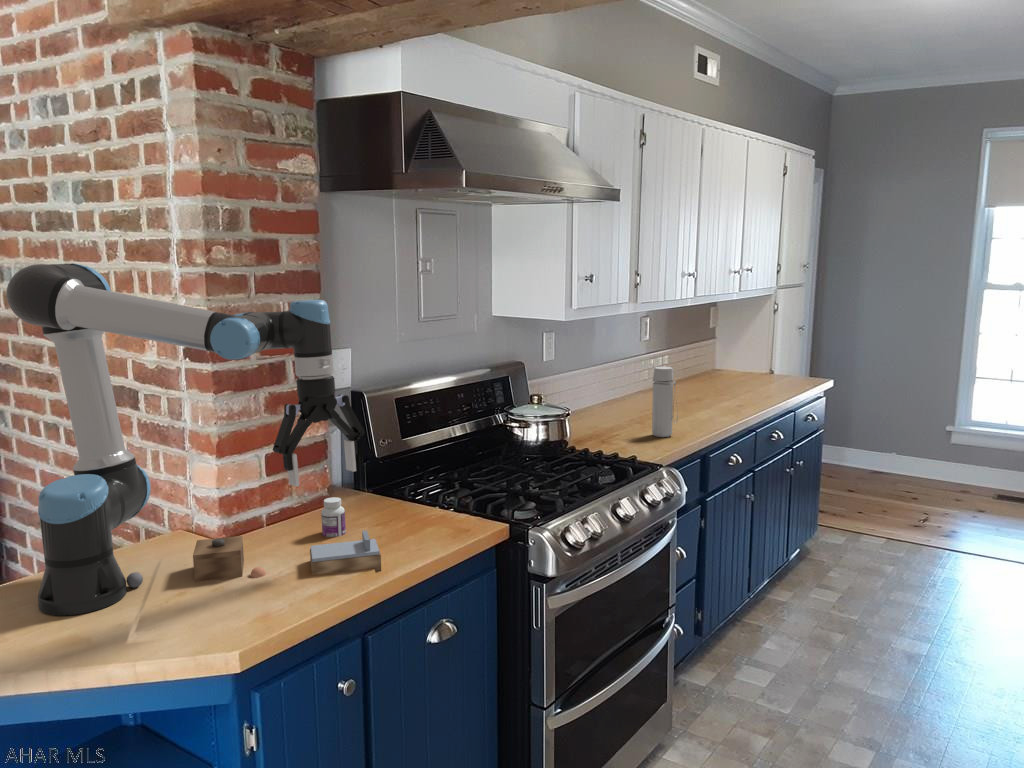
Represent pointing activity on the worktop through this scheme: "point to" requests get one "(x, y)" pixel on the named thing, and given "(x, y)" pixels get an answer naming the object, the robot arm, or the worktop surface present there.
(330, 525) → the pill bottle
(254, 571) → the ball terracotta
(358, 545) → the sliding lid
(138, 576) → the ball grey
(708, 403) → the worktop surface
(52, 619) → the worktop surface
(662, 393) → the water bottle
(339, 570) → the pencil box
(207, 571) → the cover
